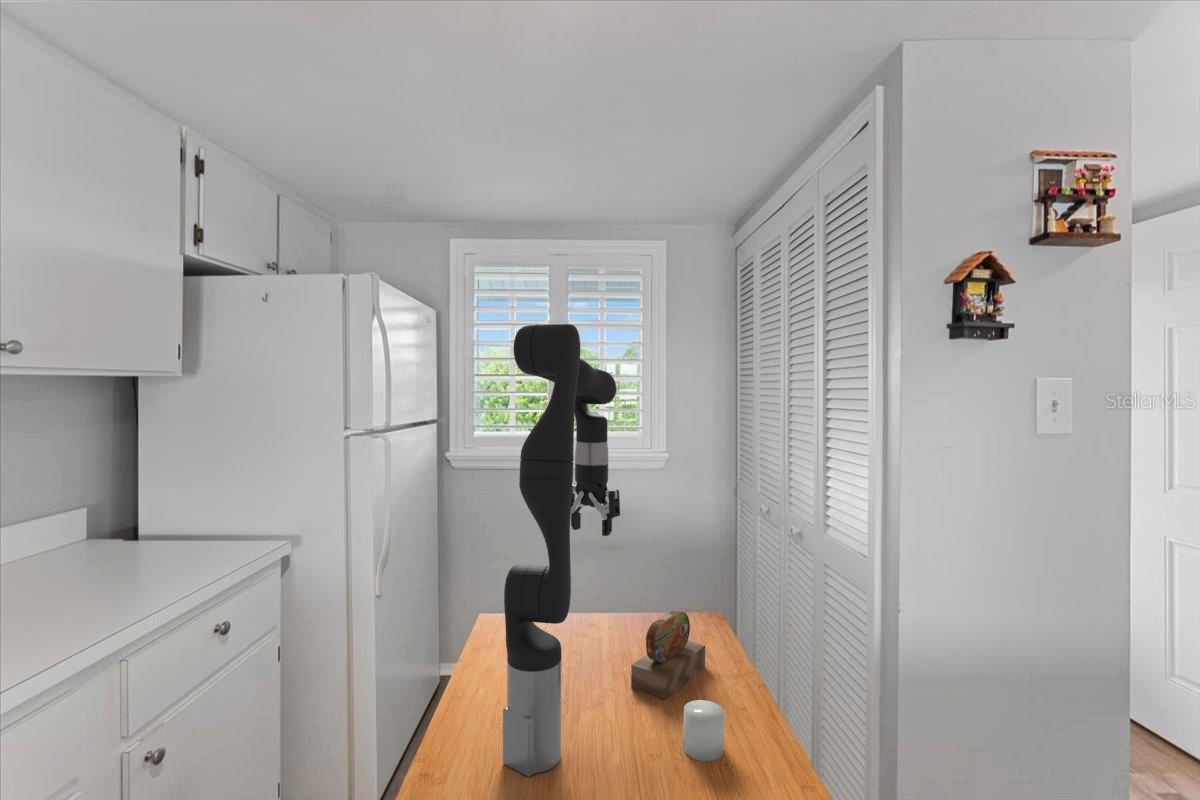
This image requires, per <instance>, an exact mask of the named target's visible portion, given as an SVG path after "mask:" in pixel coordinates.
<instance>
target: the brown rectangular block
mask: <svg viewBox="0 0 1200 800" xmlns="http://www.w3.org/2000/svg"><path fill="white" fill-rule="evenodd" d="M704 667H705V668H706V645H705V644H701V643H697V642H695V641H691V640H688V641H687V644H686V646H685V647H684V649H683V650H681V651H680V652H679V653H677V654H676V655H674V656H673V657H672V658H670V659H669V660H667V661H666V662H665V663H660V662H657V661H654V660H651V659H650V658H649V657H648V655H647V654H645V655H644V656H643V657H641V658H640V659H638V660H636V661H635V662H633V663H632V664H631V674H630V677H631V678H630V680H631V681H630V683H631V685H630V688H631V689H632V688H633V689H632V690H635V691H637V692H640V691H641V693H644V694H646V695H649V696H651V697H654V698H657V699H660V700H662V701H665V700H666V699H667V698H669V697H670V696H671V695H672V694H673V692H674V693H675V692H676V691H677V690H679V689H680V688H681V687H683V686H684V684H686V683H688V682H689V681H690V680H691V679H693V678H694V677H695V676H696V675H697V674H698V673H700V672H701V671H702V670H703V669H705V668H704ZM702 668H703V669H702ZM701 669H702V670H701ZM700 670H701V671H700ZM699 671H700V672H699ZM695 674H696V675H695ZM694 675H695V676H694ZM668 696H669V697H668Z"/></svg>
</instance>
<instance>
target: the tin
mask: <svg viewBox="0 0 1200 800" xmlns="http://www.w3.org/2000/svg"><path fill="white" fill-rule="evenodd" d="M690 630H691V623H690V618H689V616H688V614H687V613H686V612H684V611H678V610H671V611H669V612H668V613H666V614H664V615H663V616H661V617H660V618H658V619H657V620H655V621H654V622H652V623H651V624H650V626H649V627H648V629H647V632H646V634H645V635H646V636H645V649H646V655H648V657H649V658H650V659H651V660H654V661H657V662H660V663H665V662H666V661H667V660H669V659H670V658H672V657H673V656H674V655H676V654H677V653H679V652H680V651H681V650H683V649H684V647H685V646H686V644H687V641H689V636H690Z"/></svg>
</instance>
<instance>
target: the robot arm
mask: <svg viewBox="0 0 1200 800" xmlns="http://www.w3.org/2000/svg"><path fill="white" fill-rule="evenodd" d="M513 356H514V361H515V364H516V366H517V367H518V368H519V369H520V371H521V372H522V373H523V374H526V375H529V376H534V377H538V378H542V379H544V380H548V381H550V382H553V383H554V384H553V389H552V392H551V397H550V399H549V402H548V404H547V406H546V408H545V409H544V411H543V413H542V414H541V416H540V418H539V419H538V421H537V422H536V423H535V425H534V426H533V427H532V429H531V430H530V432H529V434H528V435H527V437H526V439H525V441H524V443H523V445H522V447H521V450H520V458H519V459H520V461H519V462H520V463H519V481H518V483H519V484H518V486H519V489H520V493H521V495H522V498H523V501H524V502H525V504H526V507H527V508H528V509H529V512H530V513H531V515H532V516H533V519H534V520H535V521H536V523H537V526H538V528H539V530H540V531H541V533H542V536H543V538H544V541H545V544H546V549H547V554H548V565H549V566H548V565H535V564H533V565H531V564H515V565H513V566H512V567H511V568H510V569H509V571H508V573H507V576H506V579H505V583H504V592H503V594H504V595H503V602H504V603H503V604H504V605H503V607H504V608H503V609H504V621H505V622H504V623H505V648H506V653H507V654H506V657H507V659H506V662H507V663H506V664H507V666H506V667H507V668H506V671H507V672H506V674H507V675H506V677H507V678H506V679H507V680H506V683H507V684H506V688H507V689H506V691H507V693H506V695H507V696H506V699H507V700H506V707H504V708H503V709H502V764H503V765H505V766H507V767H509V768H511V769H513V770H515V771H517V772H518V773H520V774H522V775H525V776H526V777H531V776H533V775H534V774H539V773H544V772H547V771H549V770H551V769H553V768H554V767H555V766H557V764H559V762H560V760H561V757H562V756H561V755H562V644H561V642H560V640H559V639H558V638H557V637H556V636H555V635H553V634H551V633H549V632H547V631H545V630H543V629H542V628H541V627H538V626H537V624H535V623H538V624H539V623H541V624H542V623H543V624H550V625H551V624H555V625H556V624H557V625H558V624H562V623H563V622H565V620H567V617H568V614H569V611H570V607H571V594H572V576H571V575H572V574H571V573H572V572H571V570H572V568H571V528H572V530H574V531H577V530H580V529H581V525H582V524H581V521H582V520H581V518H582V517H581V516H582V515H581V514H582V513H581V510H582V508H583V507H585V506H586V507H588V506H589V507H591V508H595V509H596V511H598V512H599V513H600V515H601V517H602V518H603V519H601V526H602V527H601V535H602V536H603V537H608V536H610V535H611V533H612V531H613V519H614V518H616V517H620V516H621V506H620V505H621V503H620V502H621V501H620V500H621V499H620V490H619V489H618V488H617V489H613V490H612V489H608V486H607V485H608V481H609V448H608V447H609V446H608V419H607V418H606V417H605V416H604V415H601V414H597V413H593V412H592V411H590V409H589V408H588V405H607V404H609V403H611V402H612V401H613V400H614V399H615V396H616V394H617V384H616V380H615V378H614V377H613V376H612V374H610V373H609V372H608V371H605V370H602V369H599V368H595V367H593V366H591V364H589V363H588V362H587V361H586V360H585V359H583V358H581V337H580V333H579V330H578V329H577V327H576V326H575V325H574V324H572V323H568V322H567V323H566V322H563V323H561V322H560V323H533V324H526V325H524V326H522V327H521V328H519V330H517V332H516V334H515V337H514V341H513ZM575 424H576V428H575ZM575 429H576V432H575ZM575 433H576V438H575V439H576V442H575V443H574V441H575V440H574V435H575ZM574 444H575V449H574ZM573 480H575V482H576V483H575V482H573ZM576 495H577V497H576Z"/></svg>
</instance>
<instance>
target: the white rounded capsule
mask: <svg viewBox="0 0 1200 800" xmlns="http://www.w3.org/2000/svg"><path fill="white" fill-rule="evenodd" d="M724 726H725V711H724V709H723V707H722V706H721V705H720V704H717V703H715V702H714V701H713V702H712V701H709V700H703V699H697V700H692V701H689V702H687V703H686V704H685V705H684V707H683V731H682V732H683V735H682V738H683V741H682V750H683V752H684V753H685V754H686V755H687V757H689V758H691V759H694V760H695V761H700V762H714V761H717V760H718V759H720V758H721V757H722V756H723V753H724V740H725V739H724V737H725V735H724V732H725V727H724Z"/></svg>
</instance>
